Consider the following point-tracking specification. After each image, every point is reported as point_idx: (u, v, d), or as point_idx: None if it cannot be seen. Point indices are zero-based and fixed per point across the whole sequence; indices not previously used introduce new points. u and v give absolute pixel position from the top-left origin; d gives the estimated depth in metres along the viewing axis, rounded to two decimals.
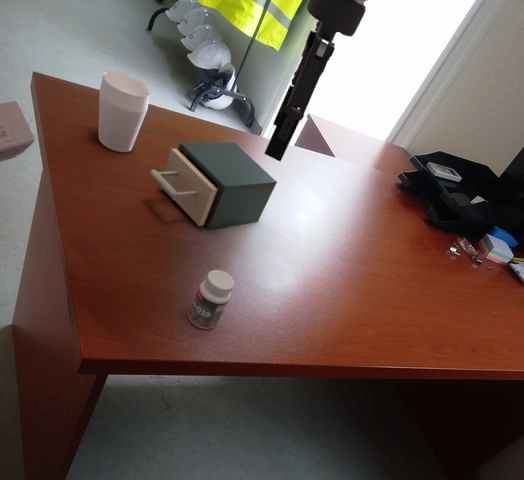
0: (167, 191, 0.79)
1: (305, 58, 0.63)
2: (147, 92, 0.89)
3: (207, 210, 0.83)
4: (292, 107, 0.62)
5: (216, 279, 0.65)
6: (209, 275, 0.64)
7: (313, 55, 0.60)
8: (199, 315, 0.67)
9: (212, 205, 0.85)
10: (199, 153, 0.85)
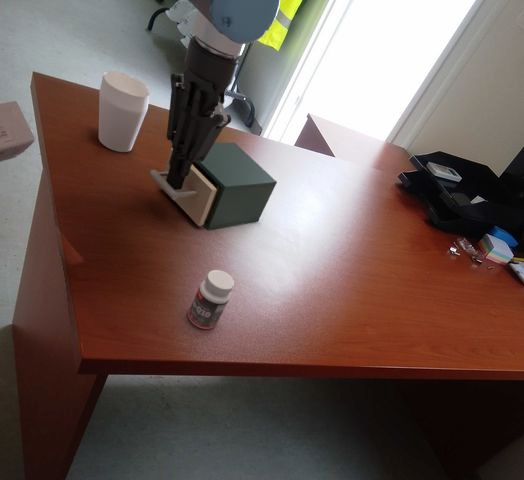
0: (167, 191, 0.79)
1: (197, 115, 0.71)
2: (147, 92, 0.89)
3: (207, 210, 0.83)
4: None
5: (216, 279, 0.65)
6: (209, 275, 0.64)
7: (214, 127, 0.70)
8: (199, 315, 0.67)
9: (212, 205, 0.85)
10: None
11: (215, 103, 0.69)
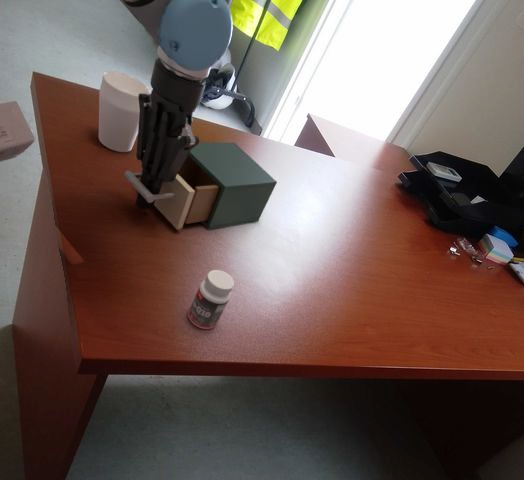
0: (142, 193, 0.75)
1: (165, 136, 0.70)
2: (147, 92, 0.89)
3: (185, 213, 0.80)
4: None
5: (216, 279, 0.65)
6: (208, 275, 0.64)
7: (182, 149, 0.69)
8: (199, 315, 0.67)
9: (190, 208, 0.81)
10: (199, 153, 0.85)
11: (182, 125, 0.68)
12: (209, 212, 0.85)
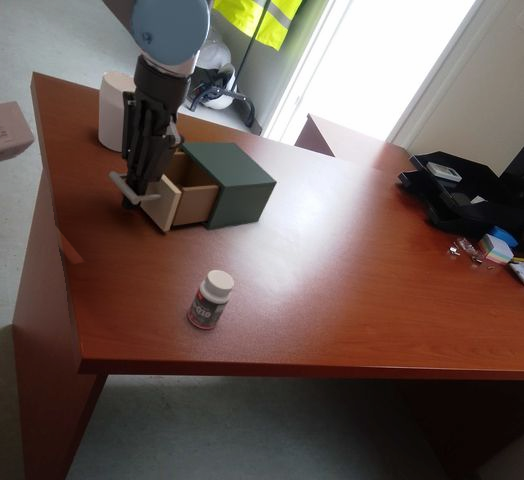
0: (126, 195, 0.73)
1: (150, 135, 0.68)
2: None
3: (172, 215, 0.78)
4: None
5: (216, 279, 0.65)
6: (208, 275, 0.64)
7: (167, 148, 0.67)
8: (199, 315, 0.67)
9: (178, 209, 0.79)
10: (199, 153, 0.85)
11: (167, 123, 0.65)
12: (197, 214, 0.83)
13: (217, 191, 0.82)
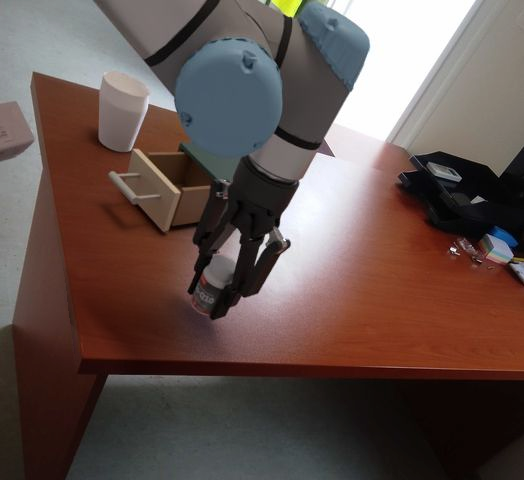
0: (126, 195, 0.73)
1: (248, 242, 0.57)
2: (147, 92, 0.89)
3: (171, 215, 0.78)
4: None
5: (220, 263, 0.63)
6: (213, 259, 0.62)
7: (272, 256, 0.57)
8: (202, 302, 0.65)
9: (177, 209, 0.79)
10: (199, 153, 0.85)
11: (270, 229, 0.55)
12: (197, 214, 0.83)
13: None
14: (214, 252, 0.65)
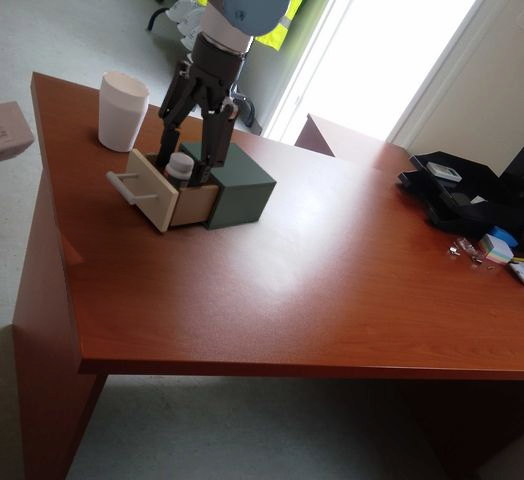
0: (124, 195, 0.73)
1: (208, 112, 0.70)
2: (147, 92, 0.89)
3: (169, 215, 0.77)
4: (216, 161, 0.73)
5: (178, 158, 0.78)
6: (172, 155, 0.78)
7: (227, 120, 0.69)
8: None
9: (175, 210, 0.79)
10: (199, 153, 0.85)
11: (222, 96, 0.68)
12: (195, 214, 0.83)
13: (215, 191, 0.82)
14: (176, 126, 0.78)
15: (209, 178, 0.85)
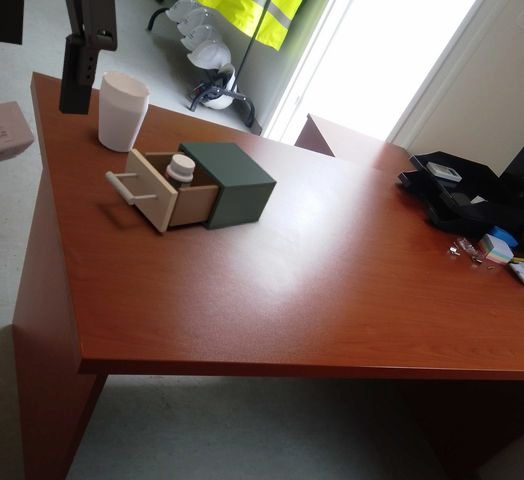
0: (123, 195, 0.73)
1: None
2: (147, 92, 0.89)
3: (168, 215, 0.77)
4: (98, 35, 0.39)
5: (179, 160, 0.78)
6: (173, 156, 0.78)
7: None
8: None
9: (174, 210, 0.78)
10: (199, 153, 0.85)
11: None
12: (194, 214, 0.83)
13: (214, 191, 0.82)
14: None
15: (208, 178, 0.85)
